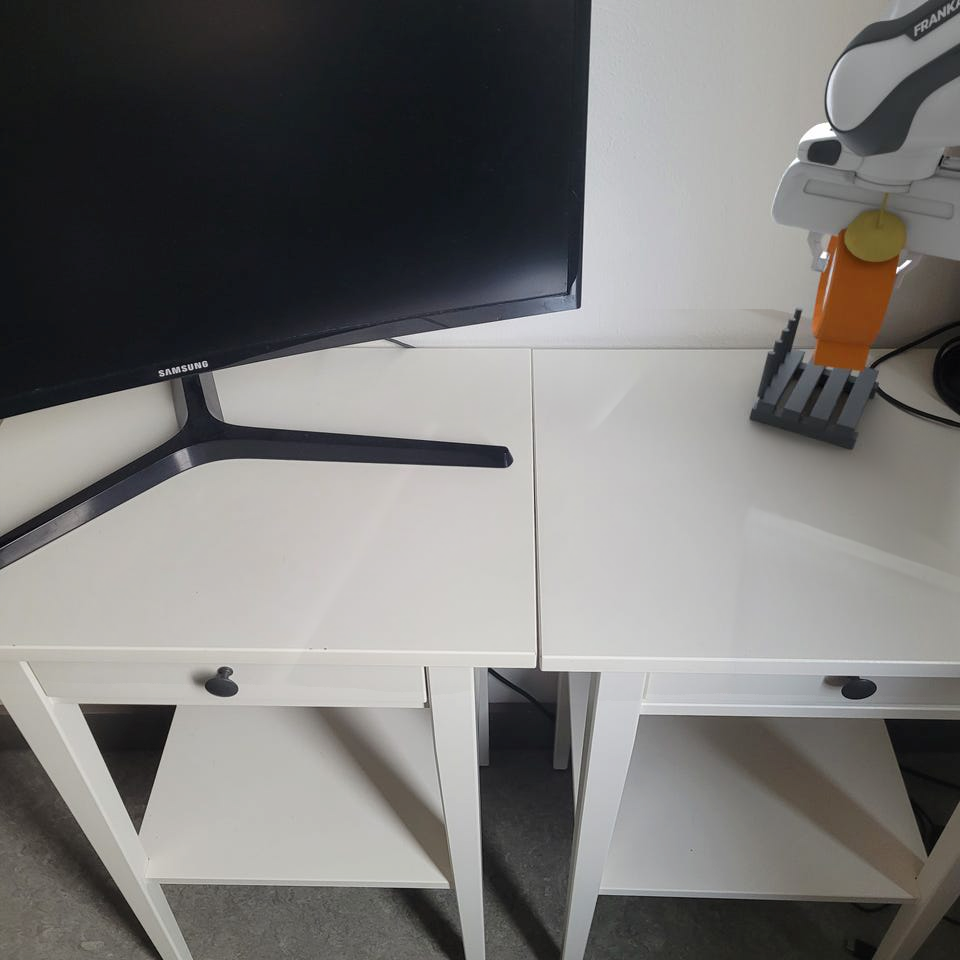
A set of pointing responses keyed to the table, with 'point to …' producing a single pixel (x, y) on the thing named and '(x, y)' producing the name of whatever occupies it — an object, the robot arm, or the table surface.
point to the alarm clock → (856, 288)
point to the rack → (811, 393)
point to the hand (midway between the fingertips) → (853, 277)
